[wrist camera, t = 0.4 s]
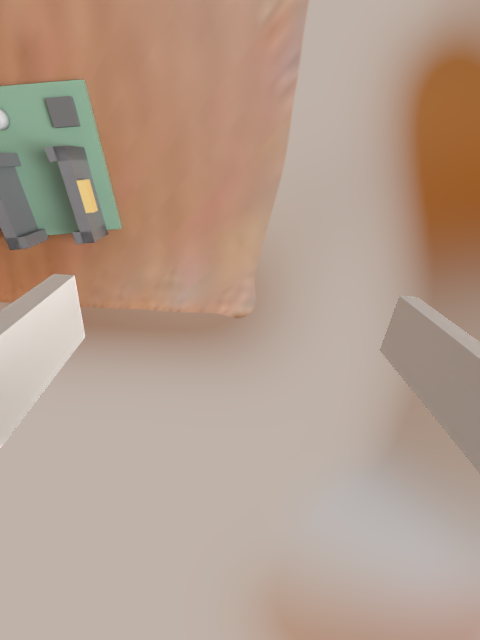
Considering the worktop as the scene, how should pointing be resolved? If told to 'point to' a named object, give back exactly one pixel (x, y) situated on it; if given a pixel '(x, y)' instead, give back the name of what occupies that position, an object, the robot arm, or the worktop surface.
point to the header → (15, 213)
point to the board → (48, 131)
